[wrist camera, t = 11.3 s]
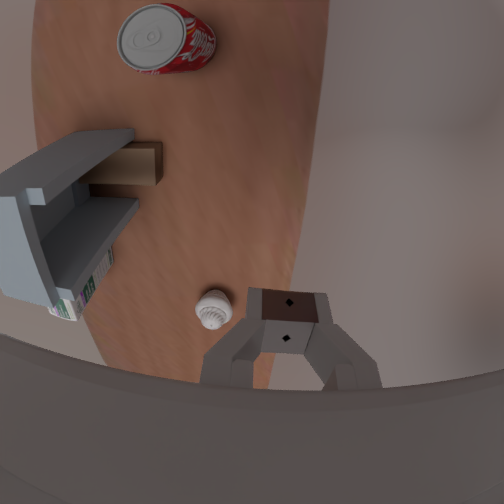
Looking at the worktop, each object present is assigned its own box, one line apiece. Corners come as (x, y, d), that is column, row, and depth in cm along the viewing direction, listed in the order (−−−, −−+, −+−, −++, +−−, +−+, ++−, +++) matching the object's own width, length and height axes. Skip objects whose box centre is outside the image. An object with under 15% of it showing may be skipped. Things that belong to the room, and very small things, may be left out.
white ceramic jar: (197, 305, 53) (190, 334, 47) (200, 279, 49) (192, 309, 43) (231, 311, 53) (227, 341, 47) (237, 286, 50) (233, 317, 44)
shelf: (74, 131, 35) (-34, 197, 17) (134, 128, 35) (31, 196, 17) (84, 204, 42) (4, 295, 24) (139, 207, 42) (68, 311, 24)
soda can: (220, 68, 31) (197, 66, 20) (163, 76, 31) (116, 84, 20) (215, 16, 27) (190, -10, 16) (157, 26, 27) (109, 12, 16)
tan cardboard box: (87, 143, 36) (75, 150, 33) (163, 141, 36) (154, 148, 34) (90, 174, 39) (79, 183, 36) (163, 176, 39) (155, 185, 36)
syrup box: (114, 262, 48) (79, 323, 36) (87, 258, 48) (48, 315, 36) (109, 234, 45) (68, 294, 33) (80, 231, 44) (36, 286, 33)
